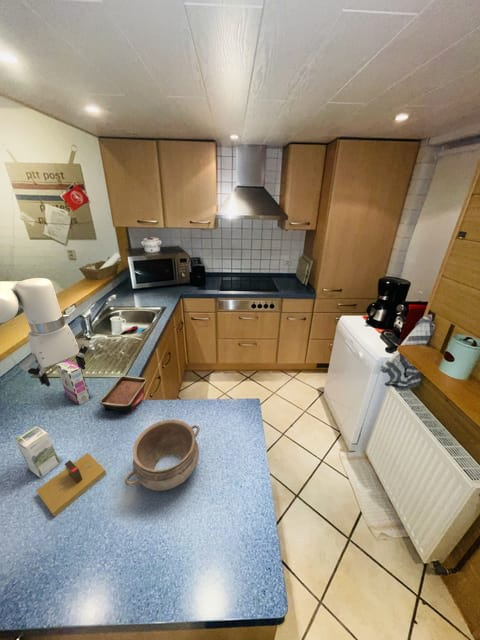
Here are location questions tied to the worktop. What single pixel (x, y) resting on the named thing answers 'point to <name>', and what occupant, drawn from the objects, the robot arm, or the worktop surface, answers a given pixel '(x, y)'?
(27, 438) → the syrup box
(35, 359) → the robot arm
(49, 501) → the plate
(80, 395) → the candy bar box
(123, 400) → the baking dish
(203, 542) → the worktop surface
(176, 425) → the cooking pot
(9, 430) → the worktop surface
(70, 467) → the lock knob
